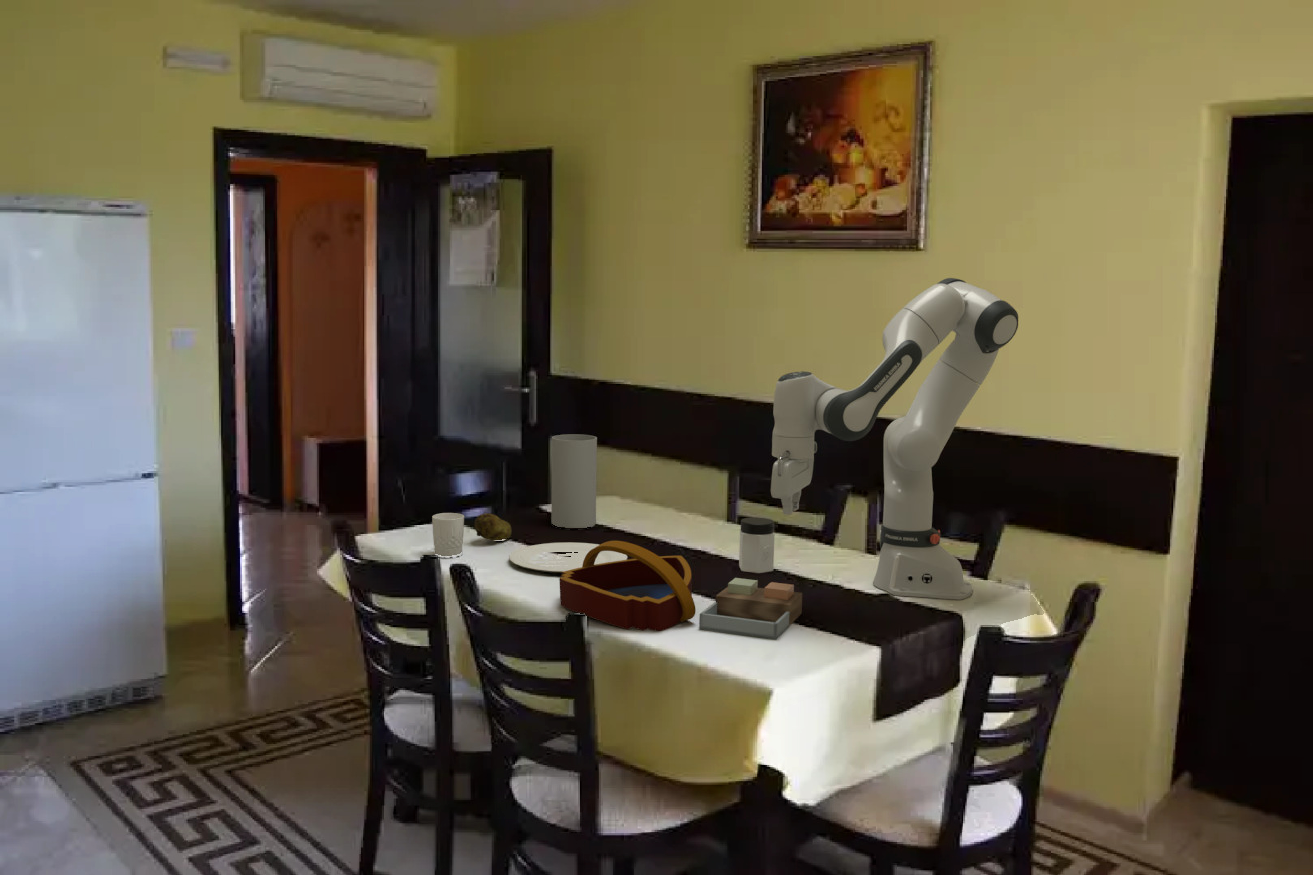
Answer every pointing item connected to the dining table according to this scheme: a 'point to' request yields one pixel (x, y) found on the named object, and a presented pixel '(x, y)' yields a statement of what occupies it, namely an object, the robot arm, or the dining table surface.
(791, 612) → the walnut block
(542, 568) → the plate
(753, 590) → the sage tile
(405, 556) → the dining table surface
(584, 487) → the cylinder vase
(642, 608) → the decorative basket
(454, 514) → the white cup
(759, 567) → the jar
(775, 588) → the terracotta tile
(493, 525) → the potato
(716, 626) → the tray
